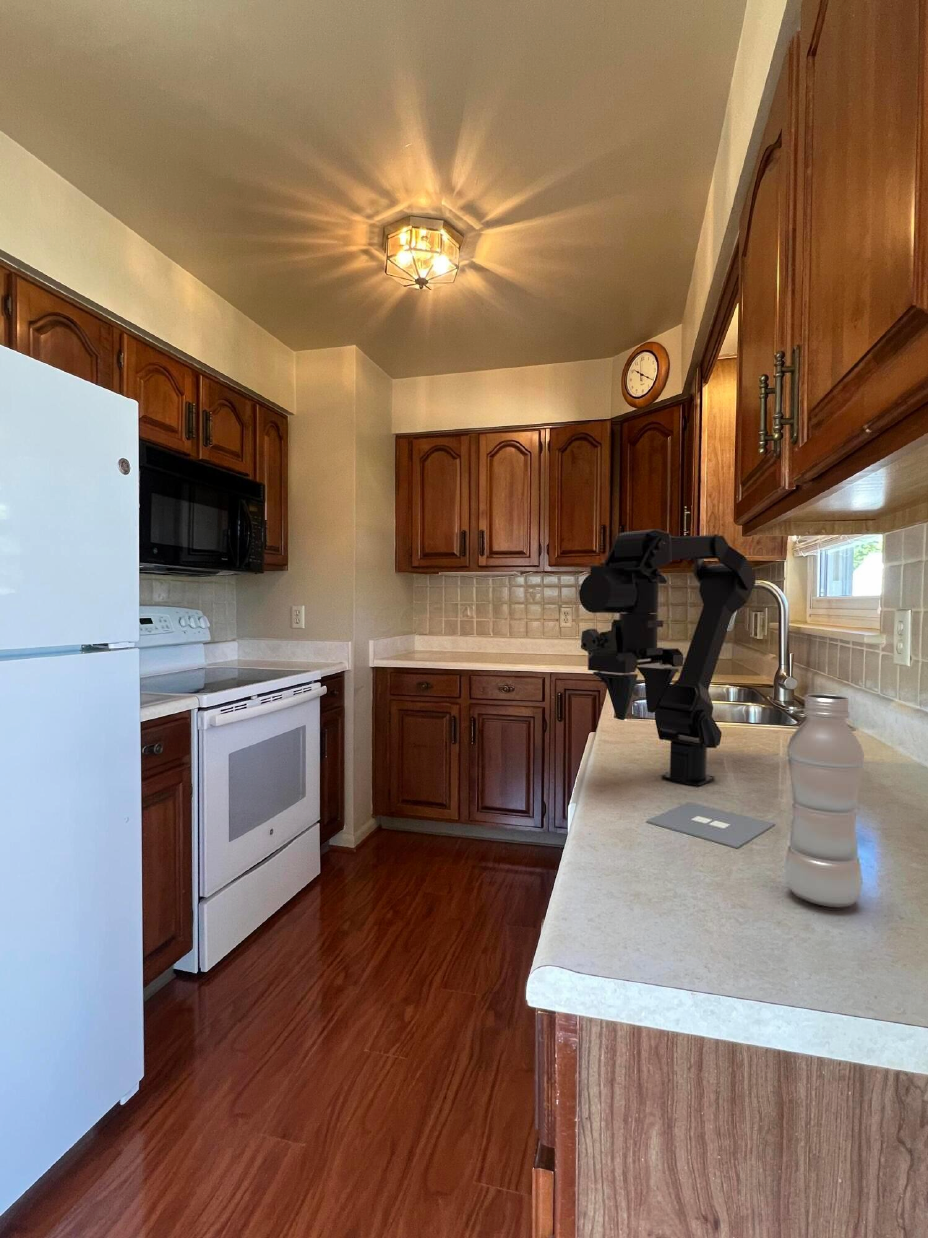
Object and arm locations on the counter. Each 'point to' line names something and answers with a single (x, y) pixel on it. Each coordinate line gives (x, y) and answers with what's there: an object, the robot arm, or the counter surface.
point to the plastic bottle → (824, 805)
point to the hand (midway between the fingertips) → (636, 715)
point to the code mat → (712, 824)
